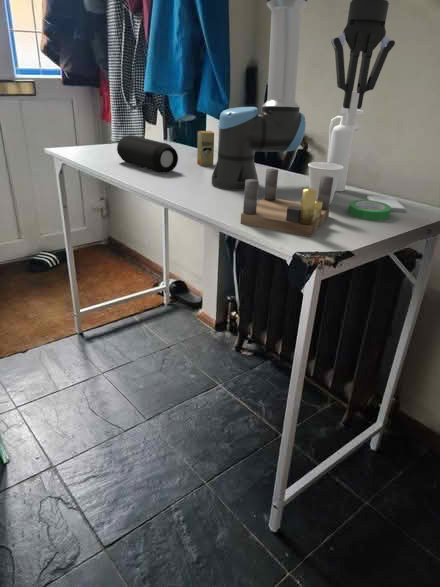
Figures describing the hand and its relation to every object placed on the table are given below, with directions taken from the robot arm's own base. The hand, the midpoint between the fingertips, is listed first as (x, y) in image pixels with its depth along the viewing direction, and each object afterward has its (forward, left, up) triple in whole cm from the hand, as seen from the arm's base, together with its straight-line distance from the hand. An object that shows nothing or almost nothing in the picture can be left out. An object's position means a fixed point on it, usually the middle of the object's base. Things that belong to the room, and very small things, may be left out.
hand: (349, 124), depth 100 cm
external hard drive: (-30, +9, -25) cm, 40 cm away
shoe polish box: (-48, -60, -25) cm, 81 cm away
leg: (+4, -5, -22) cm, 22 cm away
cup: (-20, -8, -25) cm, 33 cm away
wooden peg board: (0, -12, -24) cm, 27 cm away
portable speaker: (-31, -75, -25) cm, 85 cm away
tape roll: (-18, +6, -25) cm, 31 cm away
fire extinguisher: (-40, -9, -25) cm, 48 cm away
